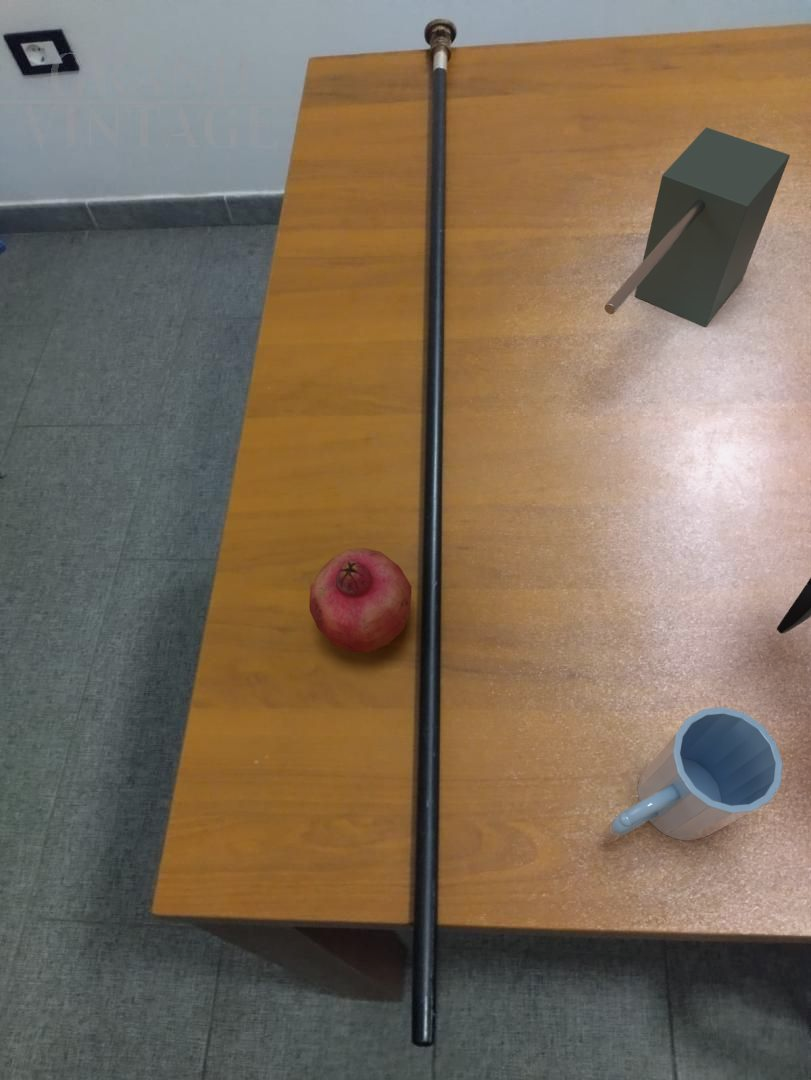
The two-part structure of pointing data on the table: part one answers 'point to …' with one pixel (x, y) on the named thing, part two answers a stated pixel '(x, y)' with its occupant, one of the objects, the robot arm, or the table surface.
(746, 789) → the blue mug
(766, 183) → the box
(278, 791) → the table surface
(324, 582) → the fruit
